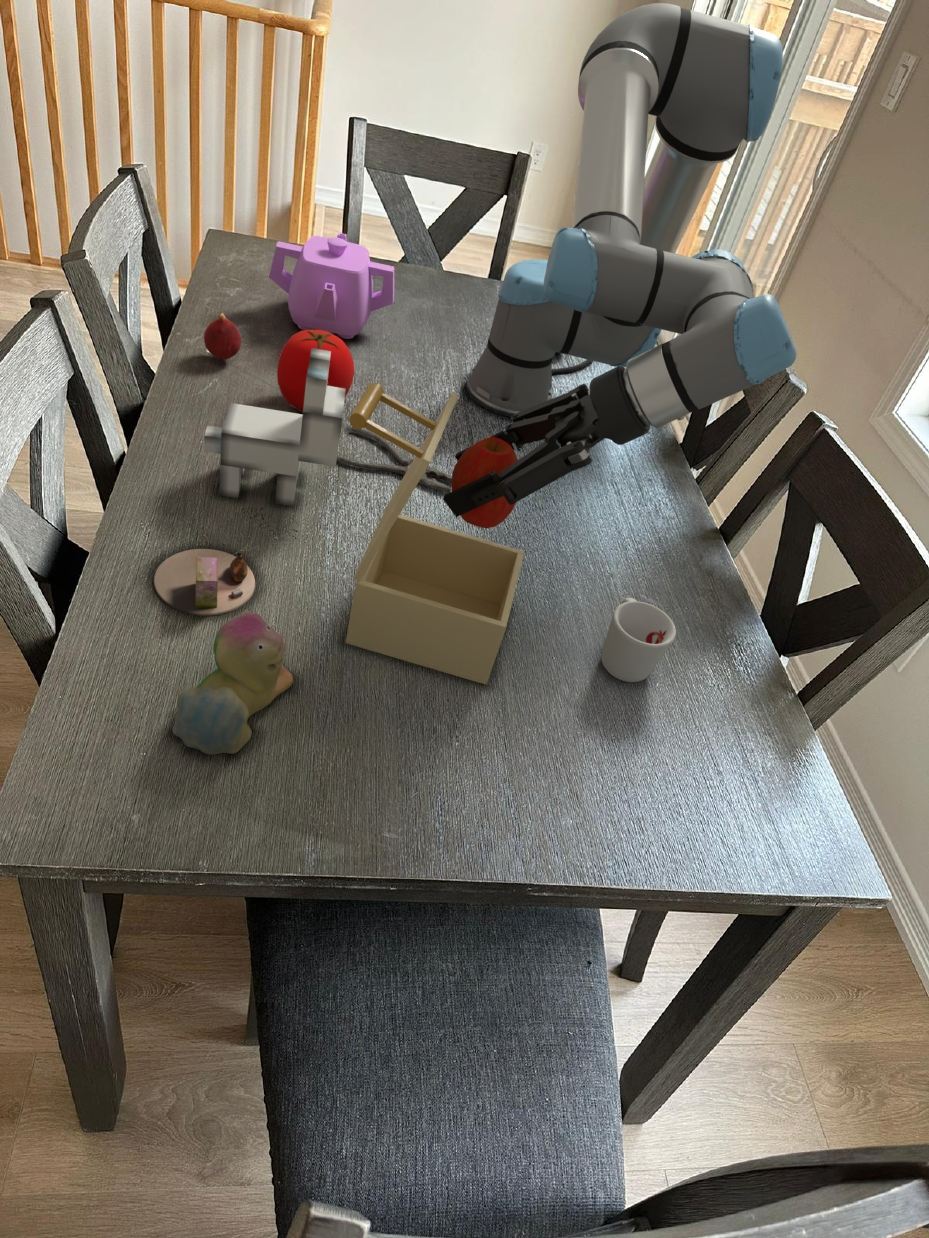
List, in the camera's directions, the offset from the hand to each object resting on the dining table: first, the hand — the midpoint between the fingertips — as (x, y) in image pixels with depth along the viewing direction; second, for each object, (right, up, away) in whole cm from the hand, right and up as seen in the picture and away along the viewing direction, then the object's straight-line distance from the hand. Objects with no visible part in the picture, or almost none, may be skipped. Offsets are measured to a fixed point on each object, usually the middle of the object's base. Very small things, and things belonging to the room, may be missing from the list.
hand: (456, 484), depth 102 cm
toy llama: (-27, +3, +23) cm, 35 cm away
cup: (+21, -21, +13) cm, 32 cm away
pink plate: (-31, -11, +7) cm, 33 cm away
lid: (-5, -1, -3) cm, 6 cm away
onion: (-39, +27, +45) cm, 65 cm away
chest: (-3, -16, +10) cm, 19 cm away
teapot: (-24, +39, +62) cm, 78 cm away
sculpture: (-24, -25, -6) cm, 35 cm away
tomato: (-23, +19, +41) cm, 50 cm away
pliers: (-10, +9, +34) cm, 37 cm away
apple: (+2, -4, +3) cm, 5 cm away
